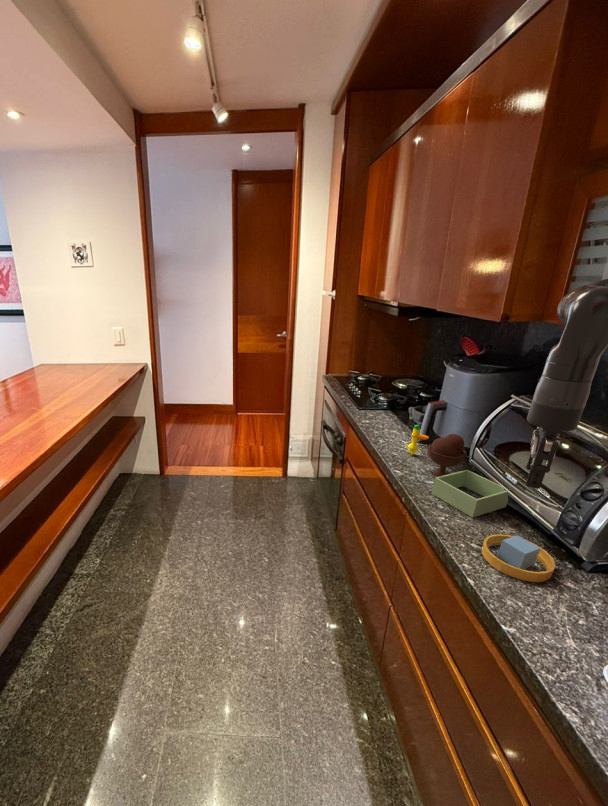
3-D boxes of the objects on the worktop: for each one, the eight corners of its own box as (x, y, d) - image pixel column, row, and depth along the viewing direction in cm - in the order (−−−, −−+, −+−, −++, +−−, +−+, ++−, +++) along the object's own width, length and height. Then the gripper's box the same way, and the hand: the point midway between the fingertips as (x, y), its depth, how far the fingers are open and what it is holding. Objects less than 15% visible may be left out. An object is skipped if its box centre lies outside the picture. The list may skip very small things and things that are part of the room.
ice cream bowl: (446, 467, 130) (456, 426, 125) (467, 484, 120) (479, 440, 114) (415, 468, 130) (424, 427, 124) (434, 485, 120) (445, 441, 114)
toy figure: (424, 457, 138) (431, 426, 133) (423, 461, 135) (429, 429, 130) (404, 453, 141) (410, 422, 137) (402, 456, 138) (408, 425, 134)
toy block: (511, 552, 90) (517, 534, 89) (533, 566, 86) (540, 548, 84) (496, 557, 89) (502, 540, 87) (518, 572, 84) (525, 554, 83)
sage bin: (462, 486, 119) (467, 469, 117) (505, 509, 107) (511, 490, 105) (430, 495, 114) (434, 477, 112) (471, 519, 103) (477, 500, 101)
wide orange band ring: (505, 539, 95) (508, 529, 94) (564, 574, 84) (569, 563, 83) (467, 552, 91) (471, 542, 90) (525, 591, 80) (529, 580, 79)
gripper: (589, 415, 64) (558, 499, 70) (581, 395, 75) (554, 469, 81) (533, 407, 68) (508, 487, 74) (533, 389, 79) (511, 460, 85)
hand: (532, 478), depth 77 cm, fingers open, 8 cm apart
